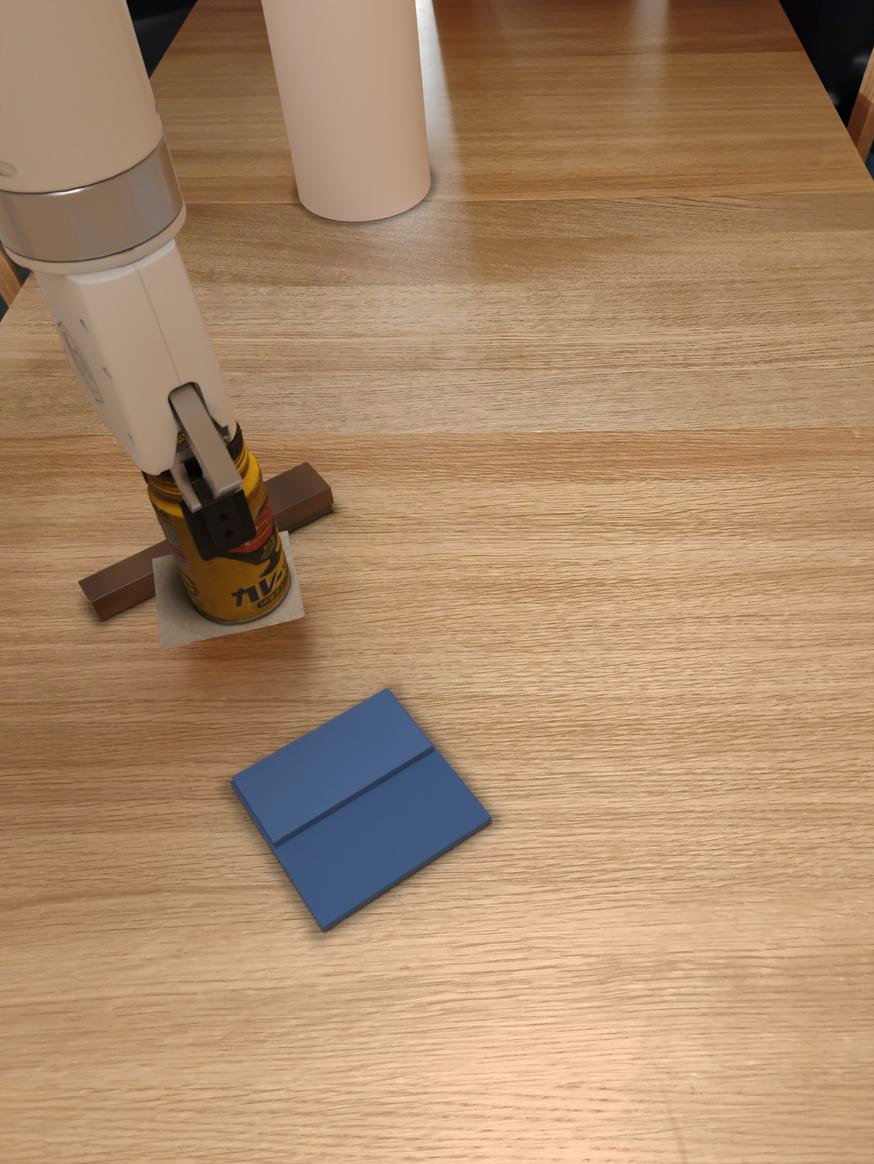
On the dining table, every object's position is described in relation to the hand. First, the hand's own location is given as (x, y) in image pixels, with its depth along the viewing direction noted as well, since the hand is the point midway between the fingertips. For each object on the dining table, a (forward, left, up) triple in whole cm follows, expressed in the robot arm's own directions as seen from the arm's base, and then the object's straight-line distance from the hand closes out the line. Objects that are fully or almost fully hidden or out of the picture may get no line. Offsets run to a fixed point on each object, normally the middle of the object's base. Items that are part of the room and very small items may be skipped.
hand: (200, 508), depth 54 cm
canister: (+37, +48, -13) cm, 62 cm away
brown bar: (+2, +10, -13) cm, 17 cm away
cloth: (0, -13, -13) cm, 19 cm away
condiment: (0, 0, -7) cm, 7 cm away
